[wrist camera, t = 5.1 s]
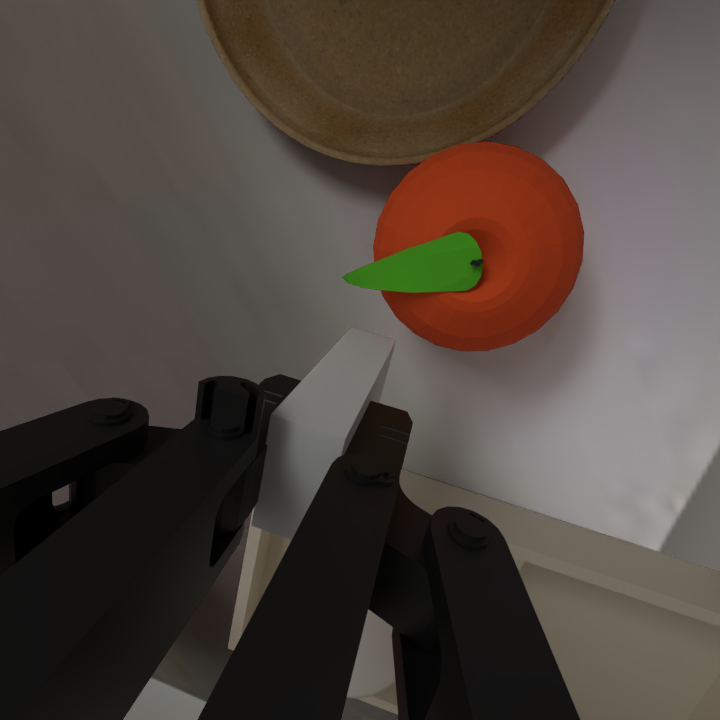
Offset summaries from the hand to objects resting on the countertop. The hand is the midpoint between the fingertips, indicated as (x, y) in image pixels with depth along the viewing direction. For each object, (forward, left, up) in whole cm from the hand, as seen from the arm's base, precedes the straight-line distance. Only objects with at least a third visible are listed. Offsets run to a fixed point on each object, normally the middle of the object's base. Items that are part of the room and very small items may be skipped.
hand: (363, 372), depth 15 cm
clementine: (-4, +2, -7) cm, 8 cm away
